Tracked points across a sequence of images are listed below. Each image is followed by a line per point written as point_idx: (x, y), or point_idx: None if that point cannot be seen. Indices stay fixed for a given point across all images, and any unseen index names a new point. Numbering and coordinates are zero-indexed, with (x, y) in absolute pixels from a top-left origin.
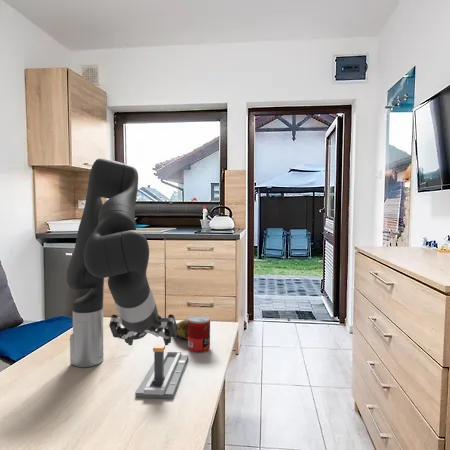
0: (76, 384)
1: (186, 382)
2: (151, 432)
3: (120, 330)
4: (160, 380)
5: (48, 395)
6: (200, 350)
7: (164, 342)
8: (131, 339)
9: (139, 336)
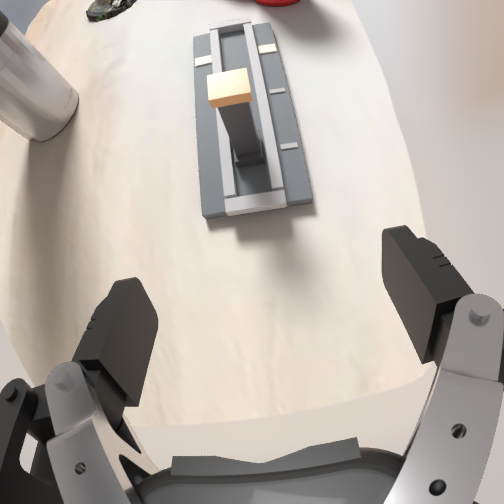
0: (57, 203)
1: (315, 119)
2: (314, 361)
3: (53, 433)
4: (256, 155)
5: (30, 258)
6: (288, 2)
7: (400, 315)
8: (140, 333)
9: (128, 3)
